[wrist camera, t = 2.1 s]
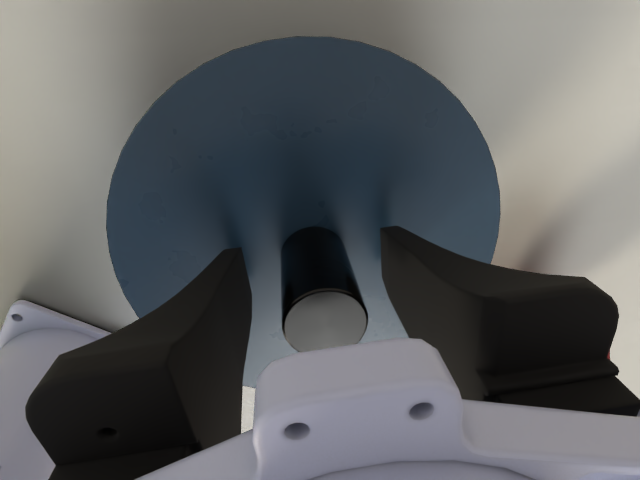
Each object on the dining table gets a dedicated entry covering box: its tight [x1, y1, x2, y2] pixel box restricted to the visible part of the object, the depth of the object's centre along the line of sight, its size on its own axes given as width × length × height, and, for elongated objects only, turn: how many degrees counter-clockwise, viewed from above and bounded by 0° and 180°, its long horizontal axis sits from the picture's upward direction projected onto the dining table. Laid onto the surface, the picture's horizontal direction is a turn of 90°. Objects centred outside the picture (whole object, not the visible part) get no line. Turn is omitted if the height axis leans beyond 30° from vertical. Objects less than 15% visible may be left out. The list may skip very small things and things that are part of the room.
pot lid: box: [106, 36, 500, 388], centre depth 13 cm, size 14×14×5 cm
